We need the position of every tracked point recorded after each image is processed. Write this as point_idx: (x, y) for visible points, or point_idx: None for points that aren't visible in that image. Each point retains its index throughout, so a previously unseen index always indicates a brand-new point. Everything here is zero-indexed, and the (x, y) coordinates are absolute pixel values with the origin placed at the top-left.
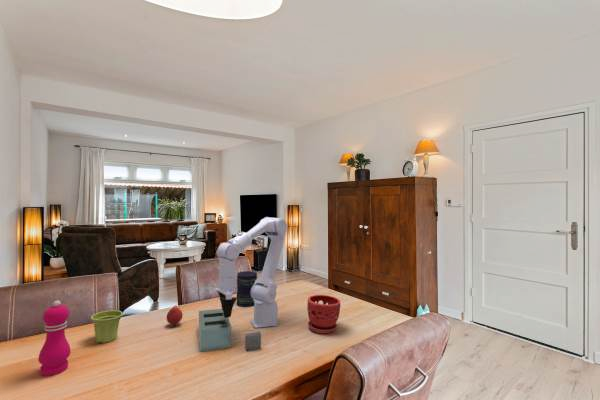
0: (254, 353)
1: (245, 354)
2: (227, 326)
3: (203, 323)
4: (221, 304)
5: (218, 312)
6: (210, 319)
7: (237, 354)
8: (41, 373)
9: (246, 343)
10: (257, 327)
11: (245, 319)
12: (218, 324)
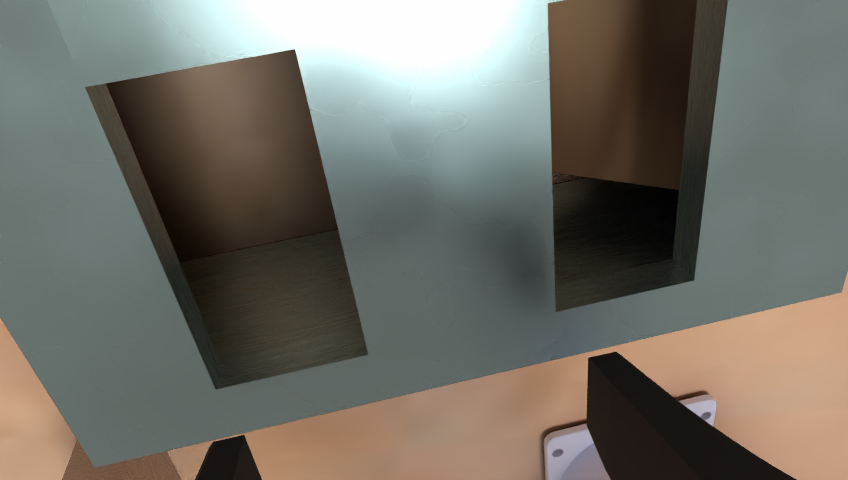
0: (47, 474)
1: (16, 419)
2: (109, 422)
3: (228, 35)
4: (647, 423)
5: (717, 224)
6: (431, 141)
7: (5, 363)
8: None
9: (63, 476)
10: (544, 451)
11: (768, 344)
12: (600, 161)
